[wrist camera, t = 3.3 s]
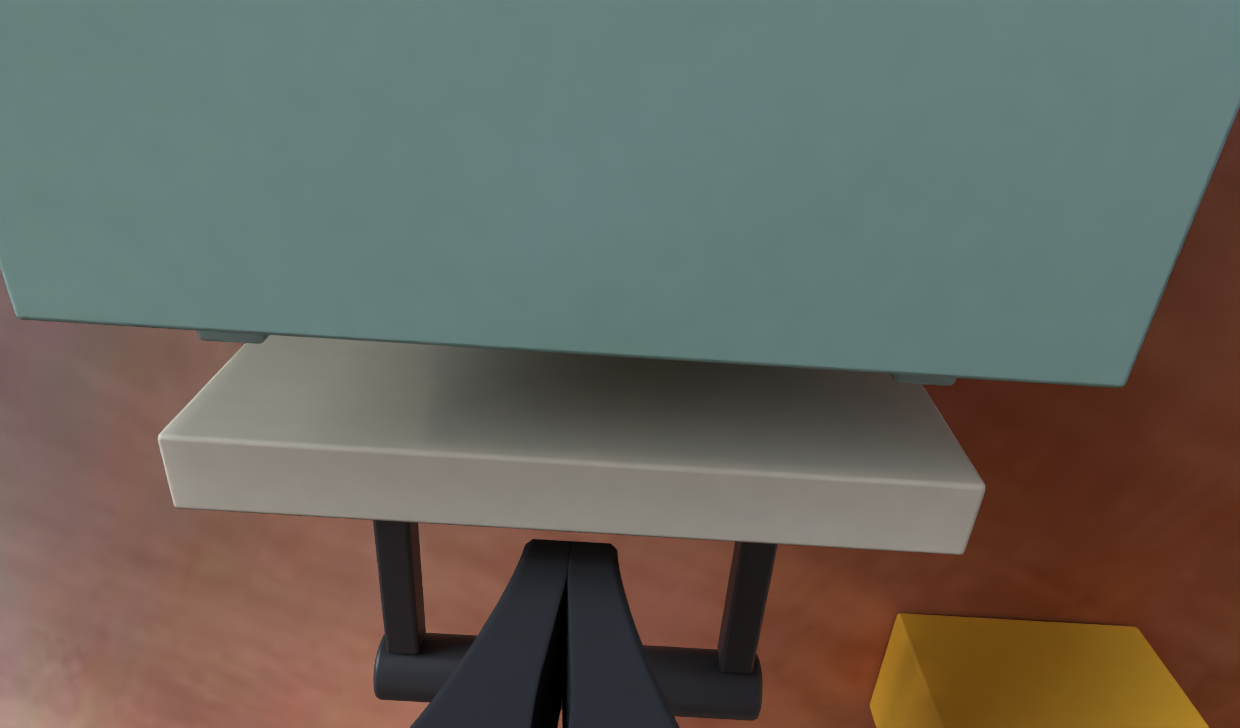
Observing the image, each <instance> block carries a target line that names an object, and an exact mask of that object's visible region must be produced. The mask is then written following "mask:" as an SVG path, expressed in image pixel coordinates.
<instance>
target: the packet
mask: <svg viewBox="0 0 1240 728" xmlns="http://www.w3.org/2000/svg"><path fill="white" fill-rule="evenodd" d="M870 709H871V712H872V715H873V719H874V722H875V725H876V728H1209V726H1208V725H1207V724H1206V722H1205V721H1204V719H1203V718H1202V717H1201V715H1200V714H1199V712H1198V711H1197V710H1196V708H1195V707H1194V705H1193V704H1192V703H1191V701H1190V700H1189V698H1188V697H1187V696H1186V694H1185V693H1184V692H1183V690H1182V689H1181V687H1180V686H1179V685H1178V683H1177V682H1176V680H1175V679H1174V678H1173V676H1172V675H1171V673H1170V672H1169V671H1168V669H1167V668H1166V666H1165V665H1164V664H1163V662H1162V661H1161V660H1160V658H1159V657H1158V655H1157V654H1156V653H1155V651H1154V650H1153V648H1152V647H1151V646H1150V644H1149V643H1148V641H1147V640H1146V639H1145V637H1144V636H1143V635H1142V633H1141V632H1140V630H1139V629H1138V628H1137V627H1133V626H1116V625H1098V624H1081V623H1064V622H1047V621H1030V620H1013V619H996V618H979V617H962V616H945V615H928V614H911V613H898V614H897V617H896V620H895V623H894V626H893V630H892V633H891V636H890V640H889V643H888V646H887V649H886V653H885V656H884V659H883V663H882V666H881V669H880V672H879V676H878V679H877V682H876V686H875V689H874V692H873V696H872V699H871V702H870Z"/></svg>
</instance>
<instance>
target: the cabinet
mask: <svg viewBox="0 0 1240 728" xmlns="http://www.w3.org/2000/svg"><path fill="white" fill-rule="evenodd" d="M1239 108H1240V0H0V268H1V271H2V274H3V277H4V280H5V283H6V286H7V290H8V293H9V296H10V299H11V302H12V305H13V308H14V311H15V314H16V316H17V317H18V318H20V319H24V320H40V321H56V322H72V323H88V324H104V325H120V326H135V327H151V328H167V329H183V330H199V331H215V332H231V333H247V334H263V335H279V336H295V337H311V338H327V339H343V340H359V341H375V342H391V343H407V344H423V345H439V346H455V347H471V348H487V349H503V350H519V351H535V352H551V353H567V354H583V355H599V356H614V357H630V358H646V359H662V360H678V361H694V362H710V363H726V364H742V365H758V366H774V367H790V368H806V369H822V370H838V371H854V372H870V373H886V374H902V375H918V376H934V377H950V378H966V379H982V380H998V381H1014V382H1030V383H1046V384H1062V385H1078V386H1093V387H1109V388H1121V387H1124V386H1125V385H1126V383H1127V380H1128V378H1129V376H1130V373H1131V371H1132V368H1133V366H1134V363H1135V361H1136V359H1137V356H1138V354H1139V351H1140V349H1141V346H1142V344H1143V342H1144V339H1145V337H1146V334H1147V332H1148V329H1149V327H1150V324H1151V322H1152V320H1153V317H1154V315H1155V312H1156V310H1157V307H1158V305H1159V303H1160V300H1161V298H1162V295H1163V293H1164V290H1165V288H1166V285H1167V283H1168V281H1169V278H1170V276H1171V273H1172V271H1173V268H1174V266H1175V264H1176V261H1177V259H1178V256H1179V254H1180V251H1181V249H1182V246H1183V244H1184V242H1185V239H1186V237H1187V234H1188V232H1189V229H1190V227H1191V225H1192V222H1193V220H1194V217H1195V215H1196V212H1197V210H1198V207H1199V205H1200V203H1201V200H1202V198H1203V195H1204V193H1205V190H1206V188H1207V186H1208V183H1209V181H1210V178H1211V176H1212V173H1213V171H1214V168H1215V166H1216V164H1217V161H1218V159H1219V156H1220V154H1221V151H1222V149H1223V147H1224V144H1225V142H1226V139H1227V137H1228V134H1229V132H1230V129H1231V127H1232V125H1233V122H1234V120H1235V117H1236V115H1237V112H1238V110H1239Z"/></svg>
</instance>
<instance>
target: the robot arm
mask: <svg viewBox="0 0 1240 728" xmlns="http://www.w3.org/2000/svg"><path fill="white" fill-rule="evenodd" d="M561 704H562V725H563V728H680V727H679V725H678V723H677V722H676V720H675V718H674V716H673V714H672V712H671V709H670V707H669V705H668V703H667V701H666V699H665V697H664V695H663V693H662V690H661V688H660V686H659V684H658V682H657V679H656V677H655V675H654V673H653V670H652V668H651V665H650V663H649V661H648V658H647V656H646V653H645V650H644V648H643V645H642V642H641V640H640V637H639V634H638V632H637V629H636V626H635V624H634V621H633V618H632V615H631V611H630V608H629V605H628V601H627V598H626V594H625V591H624V587H623V583H622V579H621V574H620V569H619V563H618V553H617V549H616V548H615V547H614V546H613V545H612V544H608V543H591V542H574V541H556V540H539V539H532V540H531V541H530V542H528V543H527V544H525V547H524V550H523V553H522V555H521V558H520V560H519V562H518V565H517V567H516V569H515V571H514V573H513V575H512V577H511V579H510V581H509V583H508V585H507V587H506V589H505V591H504V592H503V594H502V596H501V598H500V600H499V602H498V603H497V605H496V607H495V608H494V610H493V612H492V613H491V615H490V617H489V618H488V620H487V621H486V623H485V625H484V626H483V628H482V630H481V631H480V633H479V635H478V636H477V638H476V639H475V641H474V642H473V644H472V645H471V647H470V648H469V650H468V651H467V653H466V654H465V656H464V657H463V658H462V660H461V661H460V663H459V664H458V666H457V667H456V668H455V670H454V671H453V673H452V674H451V676H450V677H449V678H448V680H447V681H446V683H445V684H444V685H443V687H442V688H441V689H440V691H439V692H438V693H437V695H436V696H435V697H434V698H433V700H432V701H431V702H430V704H429V705H428V706H427V707H426V709H425V710H424V711H423V712H422V714H421V715H420V716H419V717H418V718H417V720H416V721H415V722H414V723H413V724H412V726H411V727H410V728H557V726H558V721H559V715H560V710H561Z"/></svg>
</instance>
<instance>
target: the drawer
mask: <svg viewBox="0 0 1240 728" xmlns="http://www.w3.org/2000/svg"><path fill="white" fill-rule="evenodd" d="M197 331H198V336H199V338H200V339H201V340H206V341H222V342H238V343H245V344H244V345H243V346H242V347H241V348H240V349H239V350H238V351H237V352H236V353H235V354H234V355H233V356H232V358H231V359H230V360H229V361H228V362H227V363H226V364H225V365H224V366H223V367H222V368H221V369H220V370H219V371H218V372H217V373H216V374H215V376H214V377H213V378H212V379H211V380H210V381H209V382H208V383H207V384H206V385H205V386H204V387H203V388H202V389H201V390H200V391H199V392H198V394H197V395H196V396H195V397H194V398H193V399H192V400H191V401H190V402H189V403H188V404H187V405H186V406H185V407H184V408H183V409H182V410H181V411H180V413H179V414H178V415H177V416H176V417H175V418H174V419H173V420H172V421H171V422H170V423H169V424H168V425H167V426H166V427H165V428H164V429H163V431H162V432H161V433H160V434H159V436H158V443H159V447H160V451H161V455H162V459H163V463H164V467H165V471H166V475H167V479H168V483H169V487H170V491H171V496H172V500H173V504H174V506H175V507H176V508H181V509H198V510H214V511H231V512H248V513H265V514H281V515H298V516H315V517H332V518H349V519H365V520H373V525H374V534H375V544H376V553H377V563H378V573H379V582H380V592H381V601H382V611H383V621H384V630H385V634H384V636H383V638H382V640H381V642H380V645H379V648H378V651H377V655H376V660H375V667H374V691H375V695H376V697H377V698H379V699H381V700H397V701H415V702H431V701H432V700H433V698H434V697H435V696H436V695H437V693H438V692H439V691H440V689H441V688H442V687H443V685H444V684H445V683H446V681H447V680H448V678H449V677H450V676H451V674H452V673H453V671H454V670H455V668H456V667H457V666H458V664H459V663H460V661H461V660H462V658H463V657H464V656H465V654H466V653H467V651H468V650H469V648H470V647H471V645H472V644H473V642H474V641H475V639H476V638H477V636H474V635H456V634H439V633H425V632H426V629H425V615H424V601H423V587H422V573H421V559H420V545H419V531H418V523H433V524H449V525H466V526H483V527H500V528H516V529H533V530H550V531H567V532H584V533H600V534H617V535H634V536H651V537H668V538H684V539H701V540H718V541H735V546H734V552H733V558H732V564H731V570H730V576H729V582H728V588H727V594H726V600H725V606H724V612H723V618H722V624H721V630H720V636H719V642H718V650H716V649H699V648H682V647H664V646H647V645H643V648H644V650H645V653H646V656H647V658H648V661H649V663H650V665H651V668H652V670H653V673H654V675H655V677H656V679H657V682H658V684H659V686H660V688H661V690H662V693H663V695H664V697H665V699H666V701H667V703H668V705H669V707H670V709H671V712H672V714H673V716H680V717H698V718H716V719H734V720H751V721H753V720H755V719H757V718H758V716H759V713H760V709H761V703H762V672H761V665H760V661H759V658H758V655H757V654H756V651H757V646H758V641H759V636H760V631H761V626H762V621H763V616H764V611H765V606H766V600H767V595H768V590H769V585H770V580H771V575H772V570H773V565H774V560H775V555H776V550H777V545H778V544H785V545H802V546H819V547H835V548H852V549H869V550H886V551H903V552H919V553H936V554H953V555H961V554H963V553H964V552H965V549H966V546H967V543H968V540H969V537H970V534H971V532H972V529H973V526H974V523H975V520H976V517H977V514H978V511H979V508H980V505H981V502H982V499H983V496H984V493H985V490H986V487H985V484H984V482H983V480H982V479H981V477H980V476H979V474H978V472H977V471H976V469H975V468H974V466H973V464H972V463H971V461H970V460H969V458H968V457H967V455H966V453H965V452H964V450H963V449H962V447H961V445H960V444H959V442H958V441H957V439H956V437H955V436H954V434H953V433H952V431H951V430H950V428H949V426H948V425H947V423H946V422H945V420H944V418H943V417H942V415H941V414H940V412H939V410H938V409H937V407H936V406H935V404H934V403H933V401H932V399H931V398H930V396H929V395H928V393H927V391H926V390H925V388H924V387H923V385H922V384H929V385H945V386H949V385H953V384H954V382H955V381H956V378H950V377H934V376H918V375H902V374H886V373H870V372H854V371H838V370H822V369H806V368H790V367H774V366H758V365H742V364H726V363H710V362H694V361H678V360H662V359H646V358H630V357H614V356H599V355H583V354H567V353H551V352H535V351H519V350H503V349H487V348H471V347H455V346H439V345H423V344H407V343H391V342H375V341H359V340H343V339H327V338H311V337H295V336H279V335H263V334H247V333H231V332H215V331H199V330H197ZM561 710H562V704H561Z"/></svg>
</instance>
